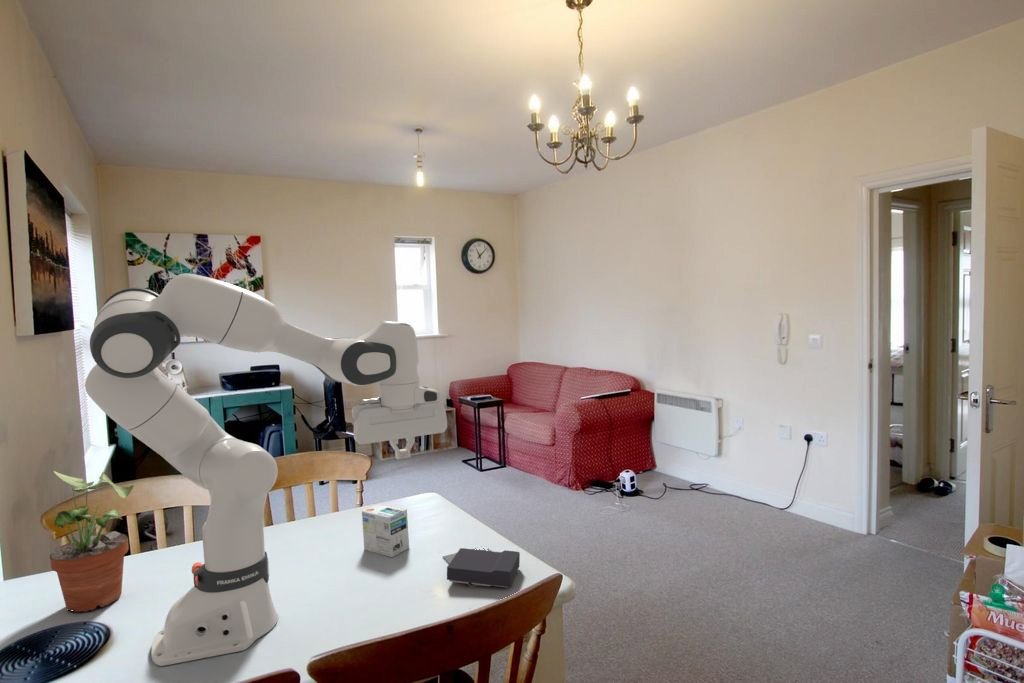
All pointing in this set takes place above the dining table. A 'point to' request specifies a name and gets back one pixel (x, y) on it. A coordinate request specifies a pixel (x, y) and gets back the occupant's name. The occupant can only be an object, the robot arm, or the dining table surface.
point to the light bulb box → (385, 530)
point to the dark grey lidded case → (484, 567)
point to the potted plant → (90, 554)
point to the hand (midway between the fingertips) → (403, 458)
